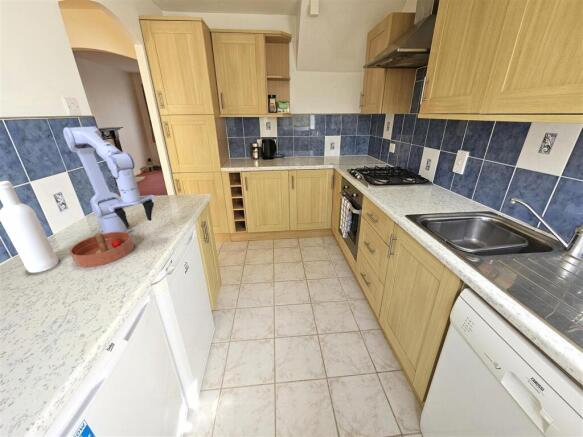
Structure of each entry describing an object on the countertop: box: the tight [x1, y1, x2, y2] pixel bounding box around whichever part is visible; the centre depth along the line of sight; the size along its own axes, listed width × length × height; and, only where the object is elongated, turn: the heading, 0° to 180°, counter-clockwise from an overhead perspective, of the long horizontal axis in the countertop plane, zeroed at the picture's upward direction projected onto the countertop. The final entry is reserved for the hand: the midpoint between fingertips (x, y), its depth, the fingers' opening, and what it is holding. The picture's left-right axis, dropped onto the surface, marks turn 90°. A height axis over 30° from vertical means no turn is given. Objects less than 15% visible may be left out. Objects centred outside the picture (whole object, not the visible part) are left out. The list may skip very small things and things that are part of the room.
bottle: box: [0, 180, 59, 274], centre depth 78 cm, size 8×8×30 cm
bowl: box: [68, 232, 135, 268], centre depth 89 cm, size 18×18×5 cm
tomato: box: [112, 240, 121, 248], centre depth 94 cm, size 3×3×3 cm
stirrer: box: [94, 232, 114, 254], centre depth 89 cm, size 6×6×8 cm
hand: (138, 223), depth 91 cm, fingers open, 7 cm apart
